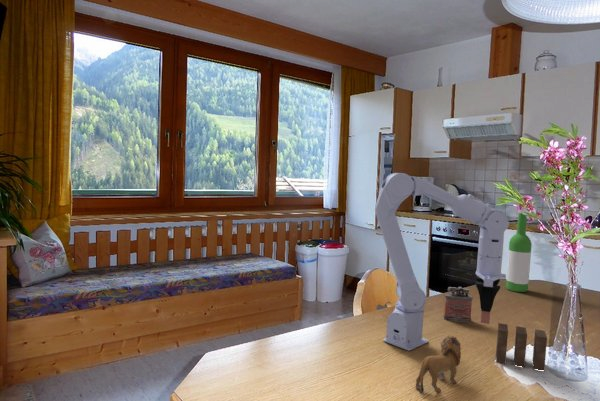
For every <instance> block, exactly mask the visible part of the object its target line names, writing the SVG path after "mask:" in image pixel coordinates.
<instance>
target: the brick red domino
mask: <svg viewBox="0 0 600 401" xmlns="http://www.w3.org/2000/svg"><path fill="white" fill-rule="evenodd" d="M480 311H481V310H480ZM490 317H491V311H490V312H486V311H481V312H480V323H482V324H487V325H490V319H491V318H490Z"/></svg>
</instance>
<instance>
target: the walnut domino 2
mask: <svg viewBox="0 0 600 401" xmlns="http://www.w3.org/2000/svg"><path fill="white" fill-rule="evenodd" d="M527 339H528V332H527V328H526V327H523V326H519V325H517V326H515V340H514V351H513V353H514V354H513V362H515V364H514V366H515V365H517V366H522V367H524V368H525V365H526V355H527V342H528V340H527Z"/></svg>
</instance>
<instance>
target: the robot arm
mask: <svg viewBox="0 0 600 401" xmlns="http://www.w3.org/2000/svg"><path fill="white" fill-rule="evenodd" d="M410 196H425V197H427V198H430V199H432V200H434V201H436V202H439V203H441V204H443V205H445V206H447V207H450V209H451V211H452V214H453V215H454V216H456V217H459V218H461V219H463V220H465V221H467V222H469V223H471V224H474V225H476V226H478V227H479V236H478V250H477V259H476V260H477V261H476V262H477V263H476V271H475V275H476V280H477V281H475V287H476V290H477V291H478V295H479V305H480V311H486V312H490V313H491V311H492V309H493V305H494V301H495V299H496V295H497V294H498V292H499V291H500V290H501V285H498V284H499V283H500V280H501V279H505V278H506V277H507V273H502V264H503V251H504V241H505V240H504V239H505V231H506V230H507V229H508V228H509V226H510V221H509V219H508V215H506V213H505V212H504V211H503V210H500V209H497V208H493V207H492V204H490V203H489V202H487V203H484V202H482V201H481V200H480V201H479V200H478V199H476V198H475V196H474V195H472V194H471V193H469V194H465V193H464V194H460V195H455V194H453V193H451V192H449V191H447V190H445V189H443V188H442V187H439V186H438V185H435V184H433V183H431V182H429V181H427V180H425V179H423V178H419V177H416V176H411V175H409V174H407V173H404V172H394V173H389V174H388V175H387V176H386V177H385V179H384V181H383V182H382V183H381V185H380V189H379V193H378V197H377V199H376V203H375V206H374V212H375V215H376V219H377V222H378V225H379V228H380V231H381V234H382V236H383V240H384V244H385V247H386V250H387V254H388V256H389V260H390V263H391V266H392V269H393V273H394V278H395V280H396V287H395V293H396V295H397V297H398V299H397V301H396V303H395V307H394V309H393V311H392V312H390V314H388V317H387V320H386V321H387V322H386V332H385V333H386V334H385V338H383V339H382V340H383V342H385V343H388V344H390V345H393V346H395V347H398V348H401V349H403V350H406V351H411V350H414V349H416V348H418V347H420V346H423V345H425V344H426V343H428V342H430V340H429V339H427V338H424V337H423V331H424V330H423V329H424V313H425V311H424V310H425V305H426V303H427V296H426V293H425V292H424V290H423V289H422V288H421V287H420V285H419V283H418V280H417V276H416V275H415V273H414V270H413V268H412V263H411V261H410V256H409V254H408V251H407V247H406V245H405V241H404V238H403V236H402V231H401V228H400V226H399V222H398V219H397V215H396V212H397V211H398V208H400V205H401V204H402V203H403V202H404V201H405V200H406V199H408V197H410Z"/></svg>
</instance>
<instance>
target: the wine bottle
mask: <svg viewBox="0 0 600 401" xmlns="http://www.w3.org/2000/svg"><path fill="white" fill-rule="evenodd" d="M522 213H523V212H519V213H518V216H517V226H516V233H515V234H514V235H512V236H511V237H510V239H509V241H508V242H509V243H508V256H507V264H506V265H507V267H506V280H505V281H506V282H505V287H506V289H507V290H509V291H512V292H515V293H525V292H527V291H528V289H529V282H530V281H529V280H530V269H531V256H532V255H531V254H532V241H531V238H529V236H528V235H527V233H526V232H527V231H526V230H527V220H528V218H527V217H528V216H527V217H526V216H525V215H523V214H522Z"/></svg>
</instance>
